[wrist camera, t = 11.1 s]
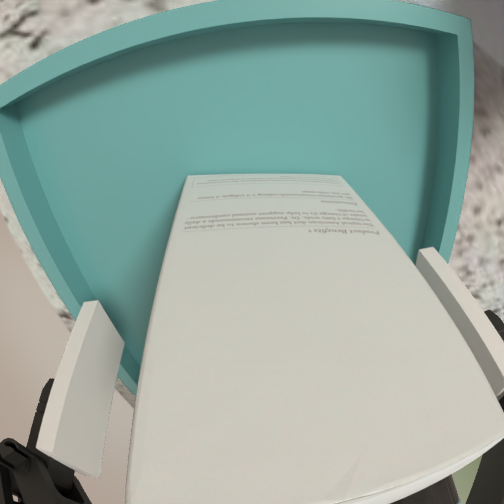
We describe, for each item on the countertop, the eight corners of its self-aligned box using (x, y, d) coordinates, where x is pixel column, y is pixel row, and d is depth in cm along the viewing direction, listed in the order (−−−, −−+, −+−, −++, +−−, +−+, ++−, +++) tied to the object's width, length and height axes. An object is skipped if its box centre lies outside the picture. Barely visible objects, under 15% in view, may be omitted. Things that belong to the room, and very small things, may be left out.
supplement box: (195, 296, 17) (187, 533, 7) (184, 170, 13) (109, 516, 3) (322, 292, 18) (388, 507, 7) (347, 172, 14) (524, 431, 3)
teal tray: (404, 327, 22) (416, 350, 20) (137, 369, 23) (133, 394, 20) (439, 19, 9) (470, 19, 7) (7, 91, 10) (-23, 101, 8)
